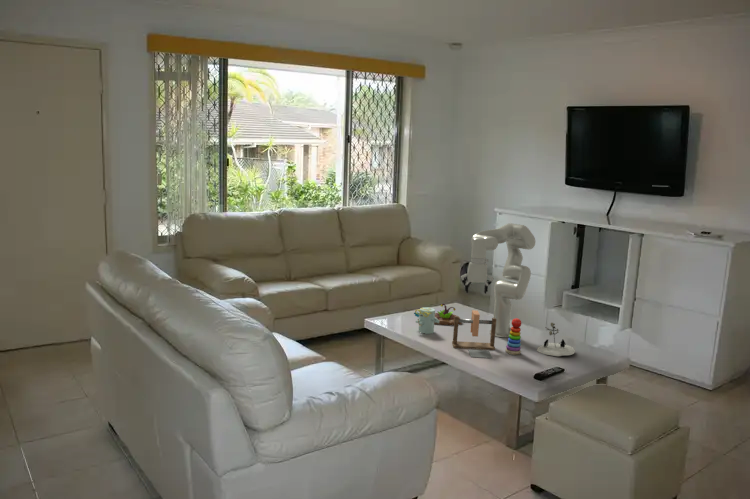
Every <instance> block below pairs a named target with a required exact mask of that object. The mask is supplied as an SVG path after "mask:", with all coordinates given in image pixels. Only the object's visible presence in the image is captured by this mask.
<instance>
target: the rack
mask: <svg viewBox="0 0 750 499" xmlns="http://www.w3.org/2000/svg"><path fill="white" fill-rule="evenodd" d="M459 317H460V316H458V315H456V316H455V318H454V325H453V335H452V341H451V344H452V347H453V349H464V350H465V349H467V350H487V351H495V350H496V346H495V338H496V336H495V330H496V318H493V317H492V318H491V319H490V320H487V319H479V325H482V324H483V325H491V327H490V330H491V334H490V339H489V340H490V341H489V342H477V341H476V342H475V341H459V340H458V334H459V332H458V331H459V325H458V323H462V324H471V323H473V320H472V319H471V318H460V319H459Z"/></svg>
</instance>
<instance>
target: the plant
mask: <svg viewBox="0 0 750 499" xmlns="http://www.w3.org/2000/svg"><path fill="white" fill-rule="evenodd" d="M443 306H444V309H443V310H439V311H437V312H435V318H437V319H438V320H439V321H440V322H439V324H438V323H435V321H434V325H437V326H438V325H439V326H450V325H452V326H454V318H455V316H457V315H456V314H453V312H454V311H456V308H455V307H453V306H451V307H450V306H449V307H448V308H447V305H446V304H445V303H442V304H440V307H443ZM451 309H452V311H450V310H451ZM459 319H461V317H460V316H459ZM458 324H459V325H458V326H460V325H462V324H463V323H458Z"/></svg>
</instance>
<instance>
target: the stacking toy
mask: <svg viewBox="0 0 750 499" xmlns="http://www.w3.org/2000/svg"><path fill="white" fill-rule="evenodd" d="M521 326H522V320H521V319H520V318H513V319H512V320H511V327H510V328H511V331H510V335H509V337H507V343H506V346H505V347H506V348H505V353H506V354H508V355H511V356H518V355H521V353H522V351H521V349H522V347H521V346H522V344H521V342H522V340H521Z"/></svg>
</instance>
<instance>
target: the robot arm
mask: <svg viewBox="0 0 750 499" xmlns="http://www.w3.org/2000/svg"><path fill="white" fill-rule="evenodd" d="M504 243H506V247H507V258H506V261H505V263H504V267H503V269H502V273H501V275H502V277H503V278H504V279H505V280H504V279H503V280H502V279H501V280H497V281H495V283H494V285H493V286H494V287H493V291H494V306H493V307H494V308H493V317H492V318H496V330H495V338H496V337H497V338H509V335H510V331H511V327H510V325H511V316H512V315H511V314H512V303H511V300H515V301H521V300H523V298H524V297H525V296H526V295H525V294H526V291H527V288H528V286H529V284H530V279H531V276H532V275H531V268H530V267H529V266H526V265H524V264H523V265H522V262H523V260H524V259H523V258H524V257H523V254H522V251H521V249H523V250H530V251H531V250H532V249H534V248H535V245H536V237H535V235H534V233H532V231H531V230H530V229H529V228H528V226H526V225H525V224H517V223H511V222H510V223H506V224H504V225H502V226H500V227H498V228H493V229H486V230H481V231H479V232H477V233H475V234H474V235H472V237H471V240H470V245H471V253H470V254H471V256H470V262H468V266H467V273H464V274H462V275H461V276H460V280H461V281H462V283H463V284H464V285H465V286H464V291H465V293H467V294H468V293H469V284H470V283H479V284H480V283H483V284H485V285H484V290H483V292H484V294H486V295H487V292H488V290H489V286H490V285H491V284H492V282H494V281H493V280H494V276H491V275H490V274H488V265H487V263H488V262H489V259H488V258H486V257H487V251H494V250H496V249H497V248H498V245H499V244H504ZM465 278H466V280H465ZM488 279H489V280H488ZM487 281H488V282H487ZM510 299H511V300H510ZM489 335H491V329H490V330H489Z"/></svg>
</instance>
